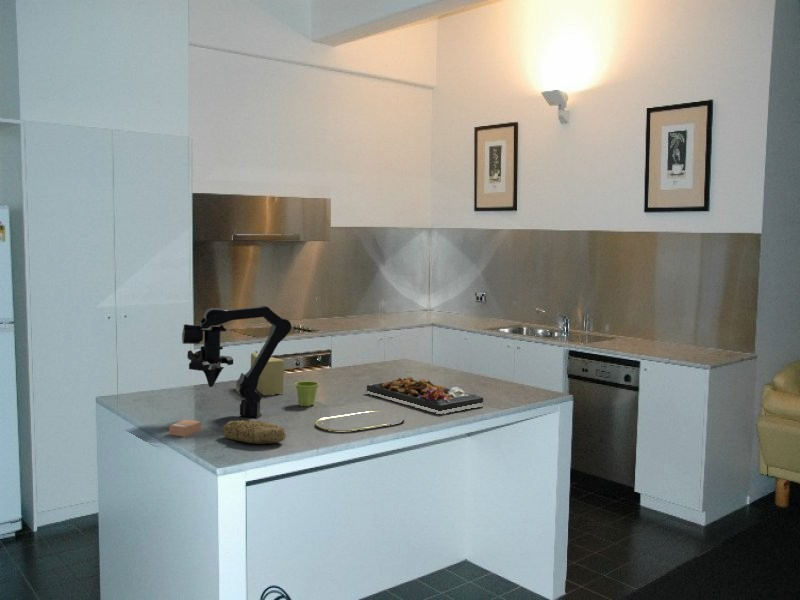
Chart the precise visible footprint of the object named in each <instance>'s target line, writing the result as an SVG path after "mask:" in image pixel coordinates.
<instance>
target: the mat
mask: <svg viewBox="0 0 800 600" xmlns="http://www.w3.org/2000/svg"><path fill="white" fill-rule="evenodd" d="M165 429H166V430H168V431H169V427H165ZM217 434H220V432H219V431H216V430H214V429H212V428H210V427H208V426H206V425H203V424H201V431H198V432H196V433H193V434H190V435H188V436H185V437H183V436H180V437H182V438H184V439H185V440H186V439H194V438H197V437H198V438H199V437H205V436H211V435H217Z"/></svg>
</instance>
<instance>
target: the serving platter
mask: <svg viewBox="0 0 800 600" xmlns="http://www.w3.org/2000/svg"><path fill="white" fill-rule="evenodd" d="M369 412H370V411H365V412H364V411H363V412H357V413H350V414H343V415H336V416H330V417H322V418H320V419H318V420H316V421H315V426H316V427H317V428H318V427H319V429H320V428H321V429H320V430H322V429H324V430H323V431H325V430H331V431H352V430H353V431H354V430H360V429H366V428H372V427H377V426H383V425H387V424H388V423H385V424H378V425H373V426H366V427H358V428H352V429H336V428H335V429H333V428H327V427H323V426H321V425H320V426H318V423H319V422H321V421H323V420H327V419H332V418H338V417H345V416H350V415H355V414H361V413H369ZM372 412H382V411H377V410H375V411H372Z"/></svg>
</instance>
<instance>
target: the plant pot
mask: <svg viewBox="0 0 800 600" xmlns="http://www.w3.org/2000/svg"><path fill="white" fill-rule="evenodd" d="M319 384H320V383H319V382H316V381H307V380H305V381H298V382H295V383H294V386H295V387H296V388H295V389H296V392H297V400H298V405H299V406H300V405H304V406H303V407H306V406H308V405H313V404H314V405H315V404H316V395H317V389H318V386H319ZM314 405H313V406H314ZM308 407H309V406H308Z"/></svg>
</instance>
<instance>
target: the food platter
mask: <svg viewBox="0 0 800 600" xmlns="http://www.w3.org/2000/svg"><path fill="white" fill-rule="evenodd" d="M367 391H370V392H373V393H377V394H381V395H384V396H388V397H392V398H396V399H399V400H403V401H407V402H410V403H414V404H417V405H420V406H424V407H428V408H431V409H435V410H438V411H442V410H447V409H452V408H457V407H462V406H467V405H472V404H477V403H482V402H483V403H484V397H482V396H480V395H479V396H478V395H477V394H475V393H474V394H470V393H467V392H466V391H465V389H464V390H463V389H462V388H460V387H458V386H452V387H451V388H447V387H445V386H443V385H438V384H434V383H432V382H431V381H430V380H426V379H425V378H423V379H419V380H415V379H414V378H413V377H412V376H408V377H407V378H406V377H404V378H401V377H399V378H398V379H392V380H391V381H387V382H386V381H385V382H378V383H370V384H367V385H366V392H367Z"/></svg>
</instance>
